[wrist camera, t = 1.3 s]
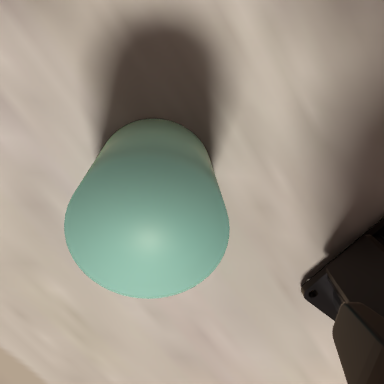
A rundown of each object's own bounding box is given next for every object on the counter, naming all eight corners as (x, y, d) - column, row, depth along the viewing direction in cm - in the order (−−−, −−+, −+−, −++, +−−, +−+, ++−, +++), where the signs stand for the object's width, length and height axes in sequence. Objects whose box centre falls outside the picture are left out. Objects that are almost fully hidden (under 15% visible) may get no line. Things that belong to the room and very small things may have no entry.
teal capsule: (234, 168, 15) (262, 224, 10) (163, 242, 16) (160, 320, 12) (145, 92, 13) (131, 119, 9) (75, 181, 15) (32, 245, 10)
